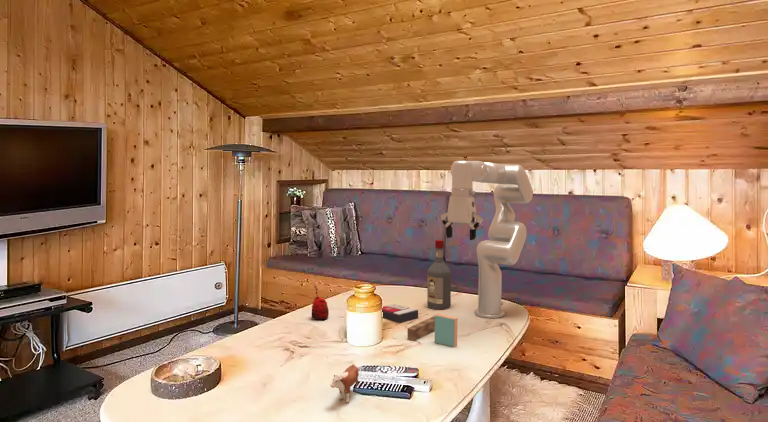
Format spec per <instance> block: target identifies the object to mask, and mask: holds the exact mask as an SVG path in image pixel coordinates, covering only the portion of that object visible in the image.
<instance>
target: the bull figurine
mask: <svg viewBox="0 0 768 422" xmlns="http://www.w3.org/2000/svg"><path fill="white" fill-rule="evenodd" d="M359 375H360V373H359V368H358V367H357V365H355V364H351V365H349V366H348V367H347V368H346V369H345V370H344V371H343V372H342V373H341V374H333V378H332V382H331V383H330V388H332V389H334V388H336V389H338V391H339V394H340V395H339V401H342V400H343V399H344V393H345V395H346V398H345V401H344V403H345V404H349V403H350V398H349V397H350V392H351V388H352V387H353V386H354V385H355V386H356V385H357V384H358V385H359Z"/></svg>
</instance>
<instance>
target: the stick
mask: <svg viewBox="0 0 768 422" xmlns="http://www.w3.org/2000/svg"><path fill="white" fill-rule="evenodd" d="M432 333H435V315H434V316H431V317H429V318H427V319H425V320H423V321H420V322H418V323H416V324H413V325H411V326H408V327H407V340H408V341H413V342H416V341H417V340H419V339H422V338H424V337H426V336H428V335H430V334H432Z"/></svg>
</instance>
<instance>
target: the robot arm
mask: <svg viewBox="0 0 768 422" xmlns="http://www.w3.org/2000/svg"><path fill="white" fill-rule="evenodd" d="M450 174H451V196H450V197H449V201H448V206H447V207H448V208H447V212H445V213H443V214H441V215H440V219H441V221H442V224H443V225H444V226H445V230H446V231H445V232H446V233H445V234H446V239H448V238H450V239H451V238H453V227H452V226H453V224H461V225H462V224H463V225H468V226H469V228H470V229H469V240H470V241H475V240H476V237H477V229H478V228H479V227H480V225H481V224H482V222H483V220H484V218H483V216H481V215H479V214H477V210H476V202H475V197H473V195H475V194H476V191H475V190H473V182H475V183H483V184H484V183H485V184H496V186H495V187H494V188H493V189H494V191H493V199H494V204H495V213H494V216H493V219H492V222H491V224H490V226H489V229H488V232H487V237H488V239H485V240H482V241H480V242H479V243H478V244H477V246H476V256H477V263H478V295H477V299H478V300H477V301H478V302H477V303H478V305H477V308H476V309H474V314H475V315H476V317H477V316H478V317H481V318H487V319H498V318H502V317H505V314H506V313H505V311H504V310H503V309H502V306H503V305H504V302H503V301H502V285H503V284H502V280H503V279H502V277H503V275H502V269H500V266H499V265H504V266H514V265H515V264H516V263H517V262H518V260H519V258H520V255H521V252H522V251H523V248H524V245H525V242H526V239H527V227H526V225H525V224H524V223H523V222H520V221H515V219H516V213H515V211H514V209H513V208H512V206H511V205H510V203H511V204H528V203H530V202H531V201H532V199H533V196H534V191H533V187H532V184H531V181H530V179H529V176H528V174H527V172H526V170H525V168H524V167H523V166H522V165H520V164H517V163H516V164H509V163H505V164H502V163H495V162H487V161H486V162H485V161H481V160H456V161H453V162H452V165H451V166H450ZM446 217H447V218H446Z"/></svg>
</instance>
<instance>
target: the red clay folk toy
mask: <svg viewBox="0 0 768 422" xmlns="http://www.w3.org/2000/svg"><path fill="white" fill-rule="evenodd" d="M317 286H318V285H317V284H316V285H315V284H313V288H315V294H316V296H315V299H314V300H313V302H312V306H311V317H312V319H313V320H315V321H323V320H325V321H326V320H328V318H329V315H330V314H329V313H330V312H329V307H328V302H327V300H326V299H325V298H323V297H320V296H318V295H319V294H318V290H319V288H318V287H317Z"/></svg>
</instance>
